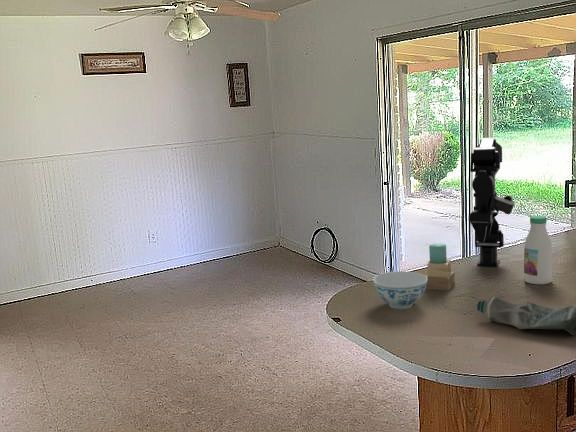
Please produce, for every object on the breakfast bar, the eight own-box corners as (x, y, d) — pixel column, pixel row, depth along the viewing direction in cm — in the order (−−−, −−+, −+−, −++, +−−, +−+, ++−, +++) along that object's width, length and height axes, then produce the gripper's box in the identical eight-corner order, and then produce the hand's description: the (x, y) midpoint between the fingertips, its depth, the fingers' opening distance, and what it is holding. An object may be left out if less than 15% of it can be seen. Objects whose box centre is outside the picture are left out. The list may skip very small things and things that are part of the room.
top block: (431, 270, 190) (430, 258, 189) (450, 271, 187) (450, 259, 187) (427, 276, 184) (427, 263, 184) (447, 277, 182) (447, 264, 181)
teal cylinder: (432, 258, 189) (431, 243, 188) (448, 259, 186) (447, 243, 185) (427, 263, 184) (427, 247, 183) (444, 264, 182) (443, 247, 181)
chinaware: (428, 314, 163) (428, 287, 162) (372, 314, 166) (371, 287, 165) (427, 296, 178) (426, 271, 176) (375, 296, 181) (374, 271, 179)
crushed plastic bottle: (588, 325, 149) (487, 307, 164) (589, 298, 147) (487, 283, 162) (576, 348, 139) (469, 327, 154) (577, 320, 137) (469, 301, 152)
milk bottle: (546, 277, 188) (547, 213, 184) (555, 284, 180) (556, 218, 177) (520, 278, 189) (521, 215, 185) (528, 285, 181) (528, 220, 177)
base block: (430, 282, 192) (430, 269, 191) (454, 284, 188) (454, 271, 187) (424, 289, 185) (423, 276, 184) (448, 291, 182) (448, 278, 181)
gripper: (508, 194, 173) (508, 247, 175) (516, 184, 189) (516, 233, 192) (468, 194, 178) (468, 245, 181) (479, 184, 194) (480, 231, 197)
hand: (484, 239), depth 187 cm, fingers open, 9 cm apart
